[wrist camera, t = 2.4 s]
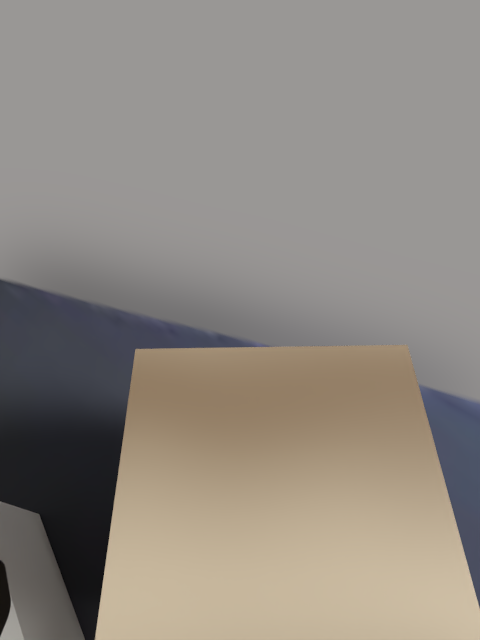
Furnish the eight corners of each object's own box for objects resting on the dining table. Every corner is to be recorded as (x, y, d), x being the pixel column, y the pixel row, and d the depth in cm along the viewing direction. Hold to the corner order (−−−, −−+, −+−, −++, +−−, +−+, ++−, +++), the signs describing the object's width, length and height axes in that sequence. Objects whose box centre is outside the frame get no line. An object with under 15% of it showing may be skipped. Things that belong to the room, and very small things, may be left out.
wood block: (337, 628, 13) (510, 717, 5) (184, 631, 13) (83, 727, 5) (319, 469, 16) (407, 344, 7) (191, 471, 16) (135, 348, 7)
